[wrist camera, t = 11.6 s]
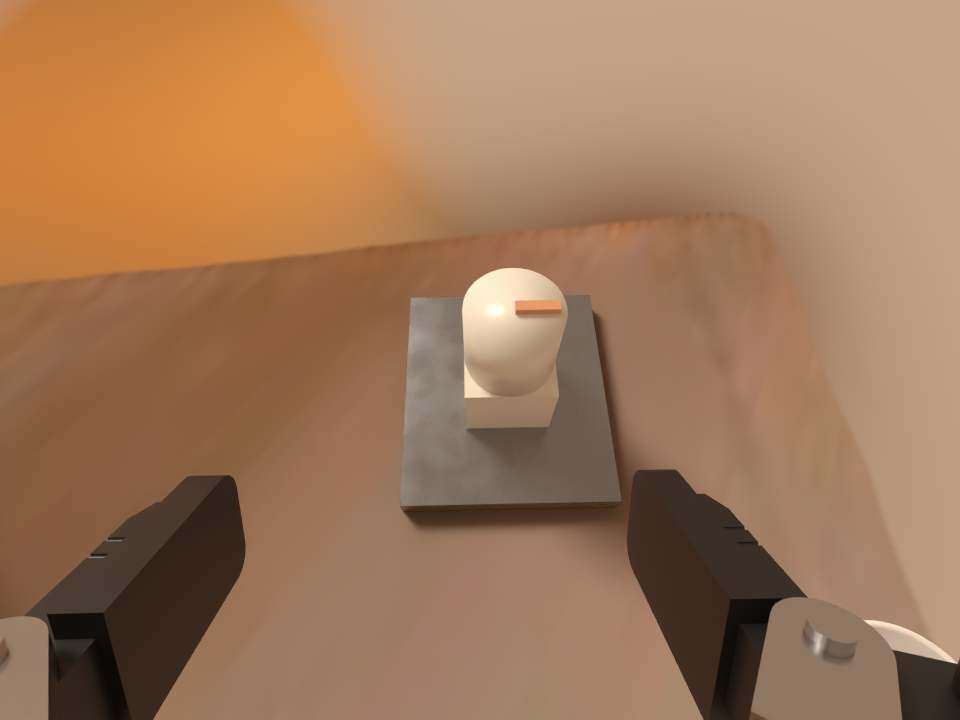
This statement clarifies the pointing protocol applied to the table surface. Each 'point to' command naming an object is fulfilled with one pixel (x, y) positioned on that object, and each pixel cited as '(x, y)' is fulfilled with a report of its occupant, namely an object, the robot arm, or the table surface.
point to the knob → (512, 349)
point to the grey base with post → (503, 451)
